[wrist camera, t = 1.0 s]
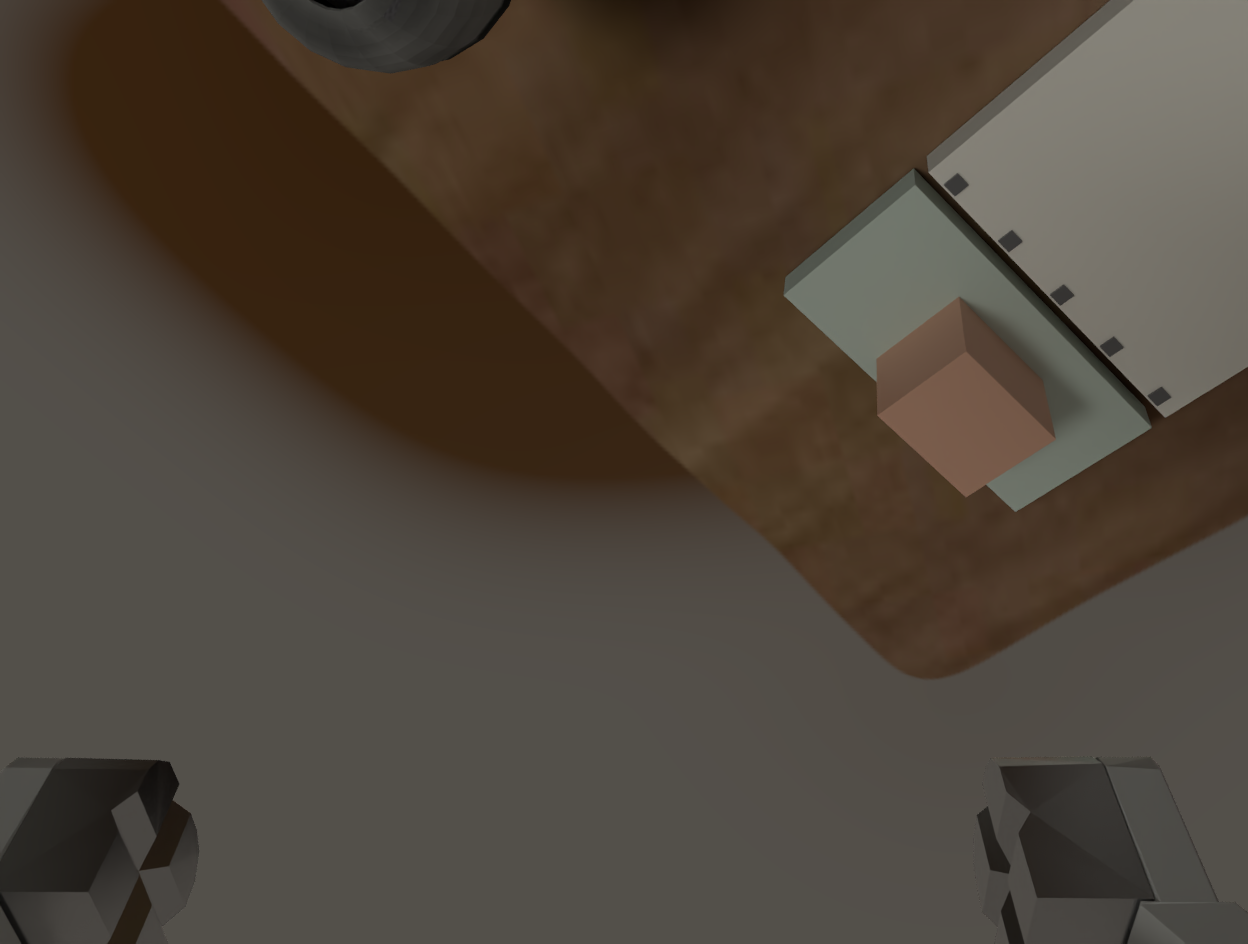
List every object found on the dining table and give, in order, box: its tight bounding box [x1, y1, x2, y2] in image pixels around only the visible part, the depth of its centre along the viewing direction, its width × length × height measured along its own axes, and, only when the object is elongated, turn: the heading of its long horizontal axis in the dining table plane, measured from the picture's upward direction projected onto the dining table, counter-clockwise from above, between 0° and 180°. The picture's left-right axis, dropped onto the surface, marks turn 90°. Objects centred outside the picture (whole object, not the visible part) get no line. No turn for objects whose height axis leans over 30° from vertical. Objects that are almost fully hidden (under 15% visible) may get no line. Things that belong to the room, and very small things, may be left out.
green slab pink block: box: [784, 169, 1152, 512], centre depth 45 cm, size 6×14×6 cm, turn 48°
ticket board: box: [927, 0, 1248, 418], centre depth 41 cm, size 14×14×2 cm
